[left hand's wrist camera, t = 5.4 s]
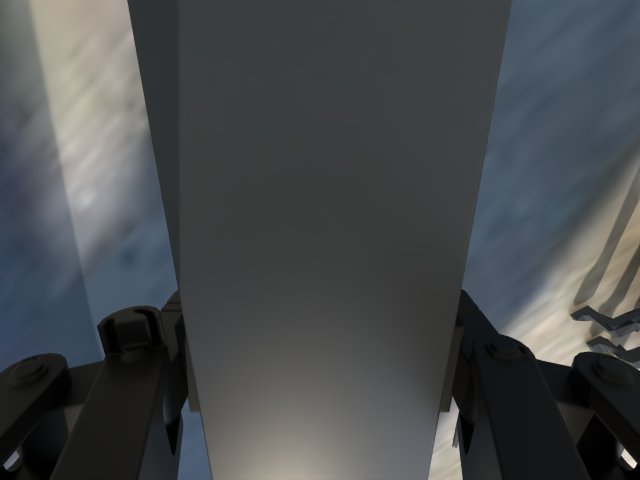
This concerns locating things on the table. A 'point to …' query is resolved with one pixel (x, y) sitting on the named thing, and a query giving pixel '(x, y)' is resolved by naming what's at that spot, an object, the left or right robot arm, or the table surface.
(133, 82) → the table surface
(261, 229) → the bar
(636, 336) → the table surface
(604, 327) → the toy
